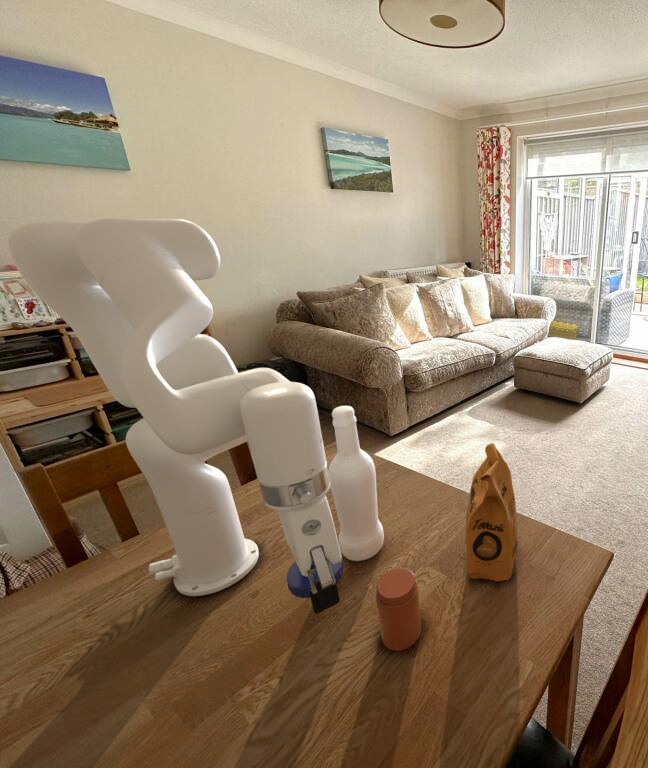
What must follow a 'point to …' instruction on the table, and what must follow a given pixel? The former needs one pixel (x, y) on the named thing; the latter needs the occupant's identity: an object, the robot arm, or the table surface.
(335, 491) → the bottle
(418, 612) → the jar
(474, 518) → the coffee package
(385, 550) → the table surface
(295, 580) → the lid
